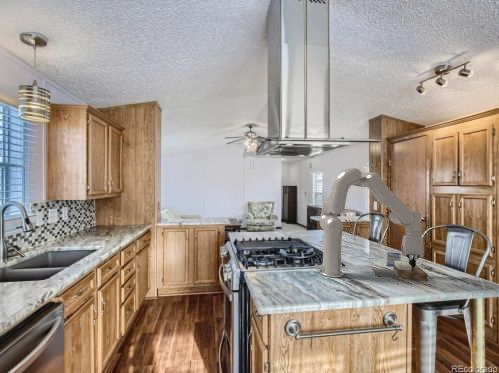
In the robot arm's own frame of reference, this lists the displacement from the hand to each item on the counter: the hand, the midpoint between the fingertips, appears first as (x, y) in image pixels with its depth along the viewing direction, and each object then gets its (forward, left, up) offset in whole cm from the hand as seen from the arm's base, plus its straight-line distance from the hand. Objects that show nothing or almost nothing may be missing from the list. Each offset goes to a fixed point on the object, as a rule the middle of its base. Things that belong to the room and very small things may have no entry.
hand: (412, 266), depth 151 cm
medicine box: (-5, +18, -5) cm, 19 cm away
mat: (-14, 0, -5) cm, 15 cm away
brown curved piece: (-1, 0, -5) cm, 5 cm away
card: (-5, 0, -1) cm, 5 cm away
